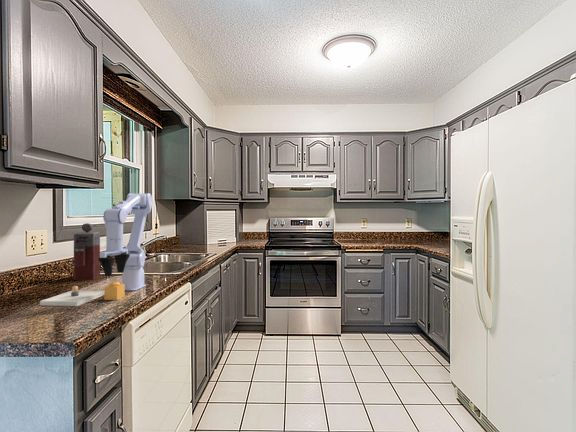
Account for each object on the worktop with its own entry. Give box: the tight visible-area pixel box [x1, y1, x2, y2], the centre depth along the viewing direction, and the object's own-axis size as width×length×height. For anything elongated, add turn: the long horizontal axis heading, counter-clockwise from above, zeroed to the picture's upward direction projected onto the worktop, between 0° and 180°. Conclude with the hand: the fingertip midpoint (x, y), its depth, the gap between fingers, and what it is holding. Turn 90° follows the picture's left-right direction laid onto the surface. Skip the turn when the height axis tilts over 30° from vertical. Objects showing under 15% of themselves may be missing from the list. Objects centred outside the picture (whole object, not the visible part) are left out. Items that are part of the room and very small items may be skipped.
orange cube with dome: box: [104, 281, 126, 301], centre depth 122 cm, size 5×5×6 cm
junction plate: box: [39, 285, 105, 307], centre depth 120 cm, size 16×14×5 cm
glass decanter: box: [73, 222, 101, 281], centre depth 157 cm, size 9×11×28 cm
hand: (114, 274), depth 121 cm, fingers open, 7 cm apart
